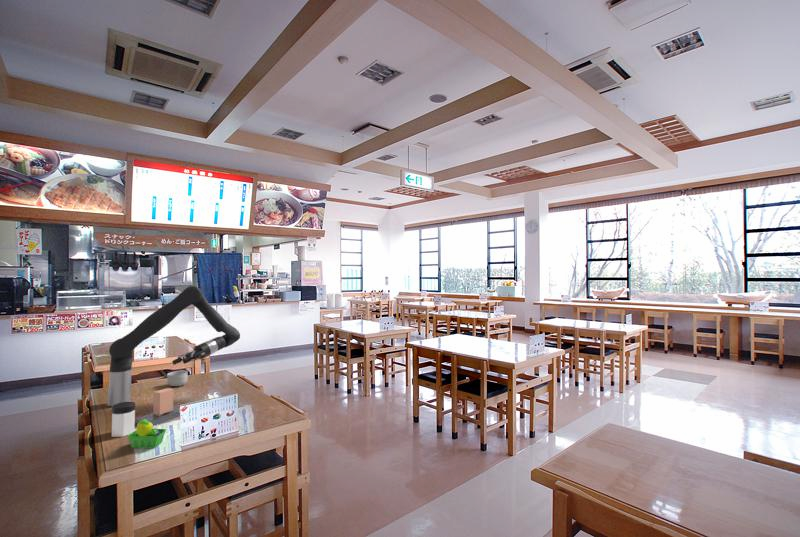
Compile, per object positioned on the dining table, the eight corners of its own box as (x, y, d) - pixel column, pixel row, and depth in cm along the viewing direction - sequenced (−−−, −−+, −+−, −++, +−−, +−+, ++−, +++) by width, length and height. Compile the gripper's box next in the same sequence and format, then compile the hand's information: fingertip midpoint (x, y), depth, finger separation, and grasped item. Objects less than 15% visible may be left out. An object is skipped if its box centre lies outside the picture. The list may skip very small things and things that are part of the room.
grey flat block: (150, 427, 175) (150, 421, 175) (135, 424, 178) (135, 418, 178) (188, 412, 194) (188, 407, 194) (174, 410, 197) (174, 405, 197)
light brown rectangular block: (159, 421, 182) (160, 393, 182) (153, 420, 183) (153, 391, 183) (172, 416, 188) (173, 388, 189) (166, 415, 190) (167, 387, 190)
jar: (139, 429, 173) (140, 401, 173) (128, 436, 165) (129, 407, 165) (117, 429, 172) (118, 401, 172) (105, 437, 164) (106, 408, 164)
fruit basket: (167, 441, 161) (167, 413, 161) (154, 451, 152) (155, 421, 153) (138, 441, 161) (139, 413, 161) (124, 450, 152) (124, 421, 152)
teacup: (180, 388, 233) (181, 374, 233) (162, 388, 233) (163, 374, 233) (193, 382, 247) (194, 369, 247) (176, 381, 247) (176, 368, 247)
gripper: (195, 343, 214) (167, 356, 199) (212, 341, 207) (184, 354, 193) (200, 356, 215) (172, 370, 200) (217, 354, 208) (189, 368, 194)
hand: (178, 362), depth 197 cm, fingers open, 8 cm apart
